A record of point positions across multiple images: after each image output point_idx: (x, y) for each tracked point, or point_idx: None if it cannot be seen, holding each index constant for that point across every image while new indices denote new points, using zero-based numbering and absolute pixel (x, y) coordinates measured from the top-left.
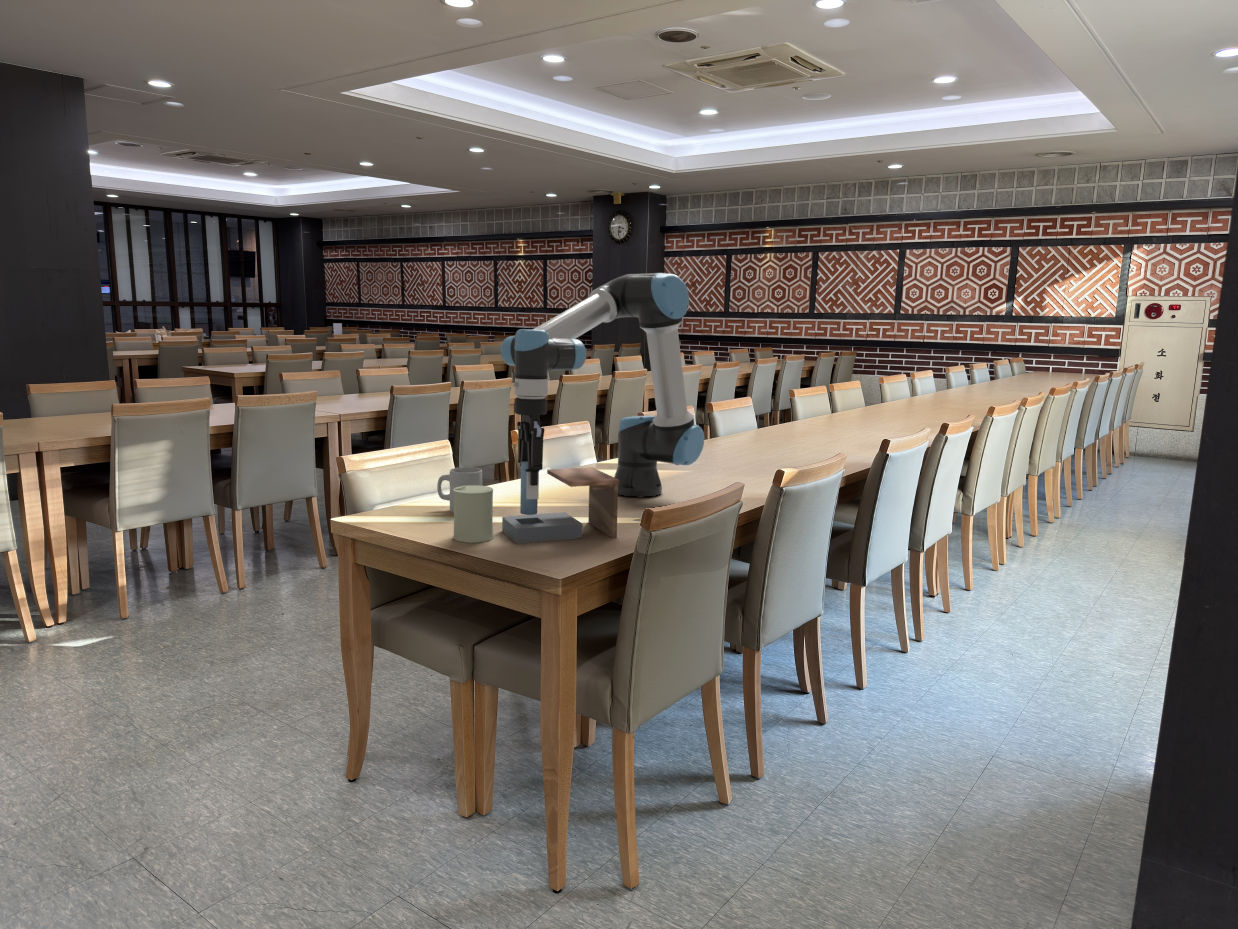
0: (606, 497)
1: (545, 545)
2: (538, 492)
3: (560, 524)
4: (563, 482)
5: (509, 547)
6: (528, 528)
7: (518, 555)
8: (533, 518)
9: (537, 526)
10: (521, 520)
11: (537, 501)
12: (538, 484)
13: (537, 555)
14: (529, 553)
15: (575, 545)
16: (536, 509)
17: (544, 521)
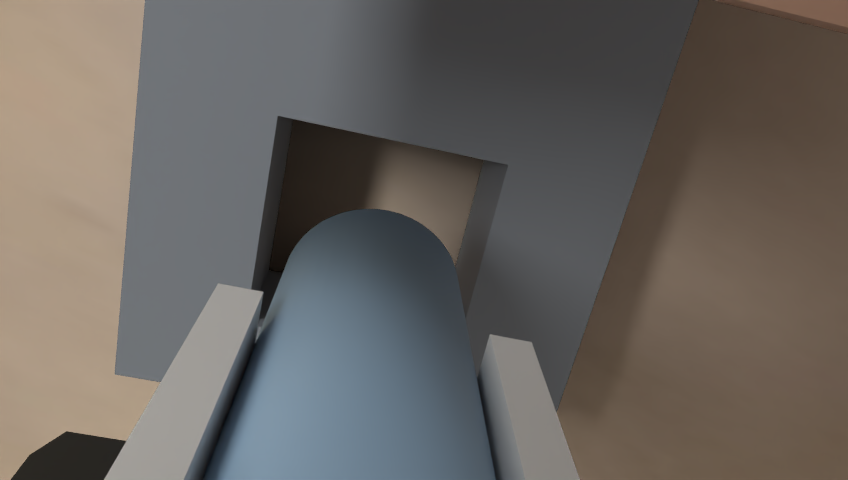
0: None
1: (681, 238)
2: (547, 390)
3: (649, 65)
4: (836, 29)
5: (577, 448)
6: (571, 357)
7: (756, 476)
8: (271, 153)
9: (584, 284)
10: (258, 262)
11: (426, 276)
12: (573, 473)
13: (834, 390)
14: (766, 409)
15: (829, 41)
16: (447, 264)
17: (462, 141)
